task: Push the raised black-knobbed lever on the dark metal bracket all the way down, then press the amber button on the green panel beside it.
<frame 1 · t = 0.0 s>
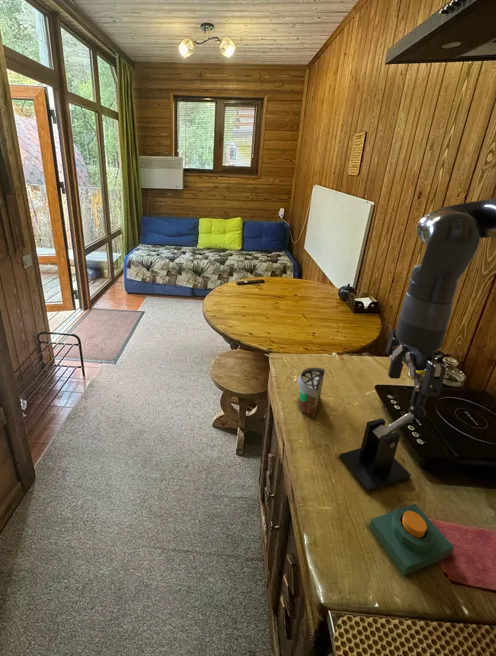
hand: (404, 390, 62), 24 cm above the kitchen counter, tool pointing down, fingers open, 8 cm apart
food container: (305, 404, 92), on the kitchen counter
button: (414, 524, 57), point 4 cm above the kitchen counter, slide at 0.1 cm
bracket: (373, 467, 72), on the kitchen counter
button panel: (408, 540, 58), on the kitchen counter
lever: (399, 422, 70), point 12 cm above the kitchen counter, hinge at 25.0°
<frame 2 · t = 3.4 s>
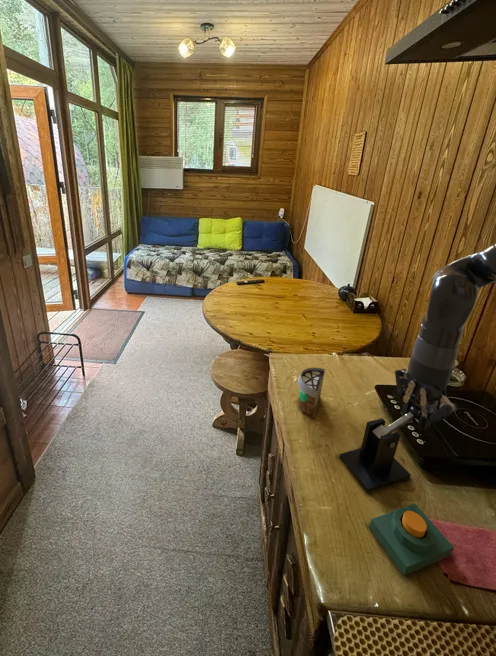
hand: (414, 421, 71), 11 cm above the kitchen counter, tool pointing down, fingers closed on lever, 3 cm apart
lever: (399, 422, 70), point 12 cm above the kitchen counter, hinge at 25.0°, touching gripper
everything else where it was.
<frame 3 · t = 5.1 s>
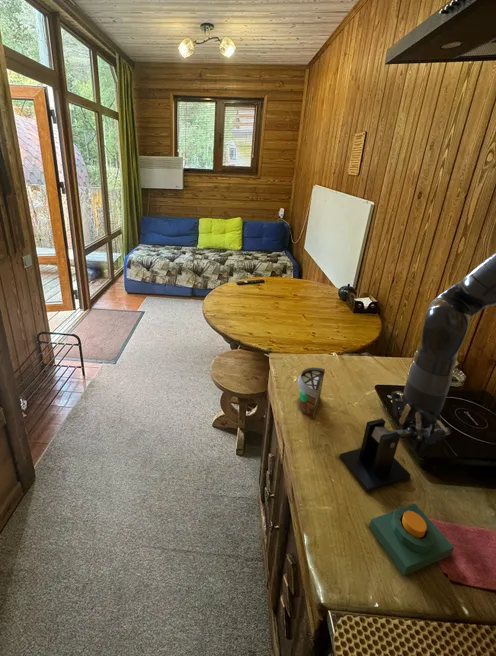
hand: (409, 442, 73), 5 cm above the kitchen counter, tool pointing down, fingers closed on lever, 3 cm apart
lever: (398, 433, 71), point 9 cm above the kitchen counter, hinge at -11.7°, touching gripper
everything else where it was.
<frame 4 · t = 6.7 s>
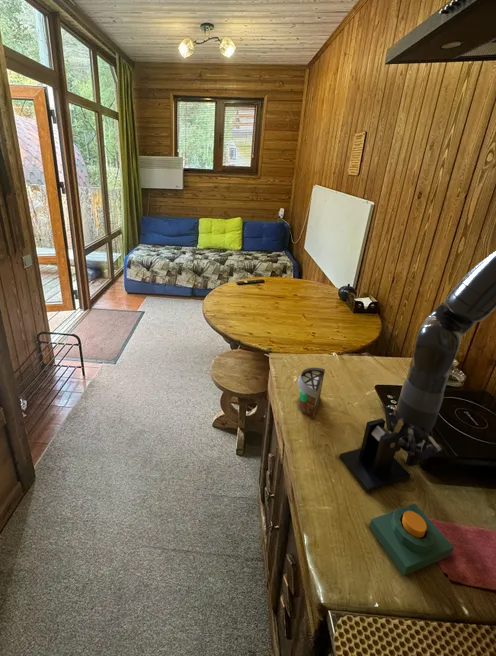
hand: (402, 457, 74), 1 cm above the kitchen counter, tool pointing down, fingers open, 3 cm apart
lever: (394, 439, 71), point 7 cm above the kitchen counter, hinge at -31.0°
everything else where it was.
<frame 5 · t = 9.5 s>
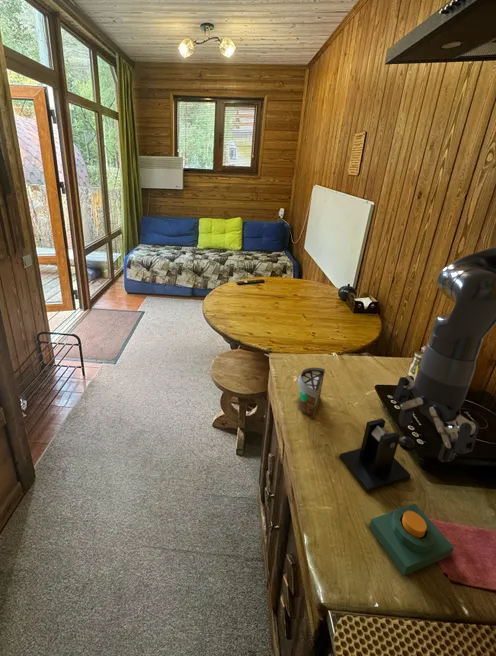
hand: (422, 441, 60), 16 cm above the kitchen counter, tool pointing down, fingers open, 8 cm apart
lever: (394, 439, 71), point 7 cm above the kitchen counter, hinge at -30.5°
everything else where it was.
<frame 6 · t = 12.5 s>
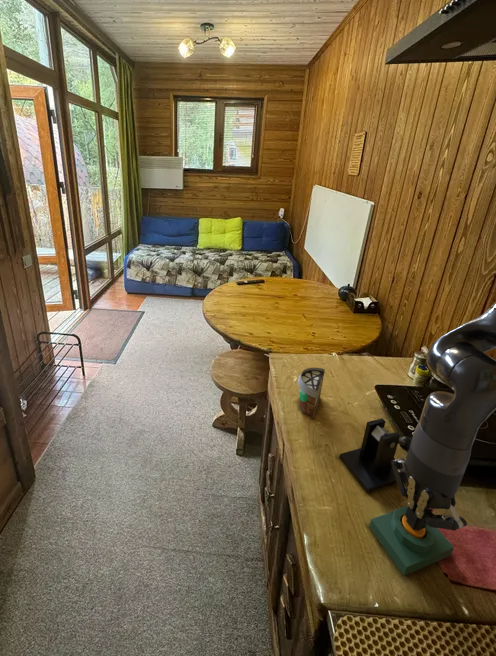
hand: (413, 524, 57), 4 cm above the kitchen counter, tool pointing down, fingers closed
button: (412, 527, 57), point 3 cm above the kitchen counter, slide at -0.9 cm, touching gripper
everything else where it was.
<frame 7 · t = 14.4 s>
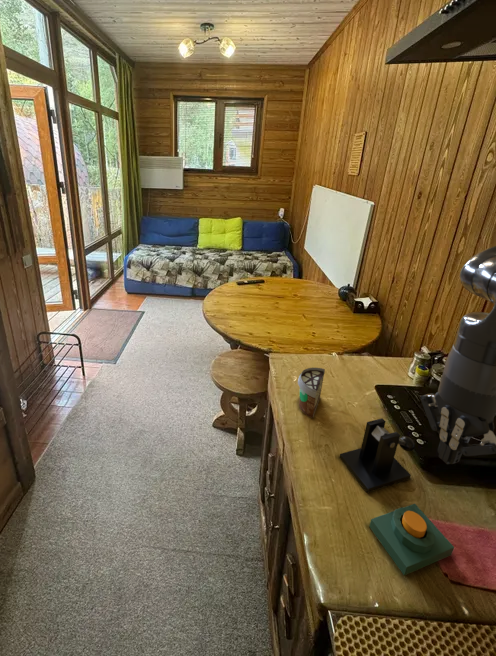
hand: (446, 459, 54), 18 cm above the kitchen counter, tool pointing down, fingers closed
button: (414, 524, 57), point 4 cm above the kitchen counter, slide at 0.1 cm
everything else where it was.
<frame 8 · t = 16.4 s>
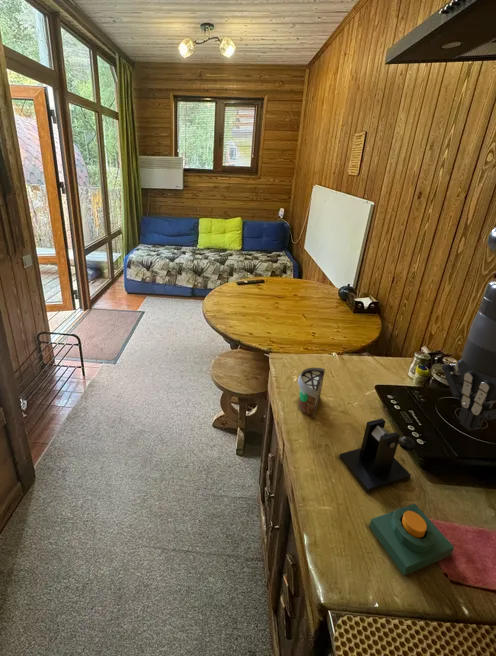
hand: (467, 426, 55), 23 cm above the kitchen counter, tool pointing down, fingers closed
nothing on the kitchen counter moved.
at the end: lever at -30° (first picture: +25°); button pushed in 1.1 cm at the most during the clip, back to where it started at the end; button slide at 0.1 cm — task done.
